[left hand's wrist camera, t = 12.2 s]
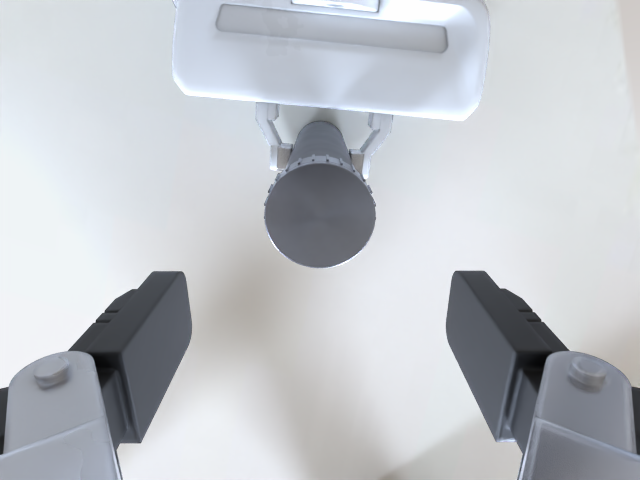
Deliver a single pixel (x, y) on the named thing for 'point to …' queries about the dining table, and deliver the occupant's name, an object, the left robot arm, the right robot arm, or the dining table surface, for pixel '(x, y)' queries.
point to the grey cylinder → (320, 143)
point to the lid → (320, 212)
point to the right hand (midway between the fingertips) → (319, 172)
